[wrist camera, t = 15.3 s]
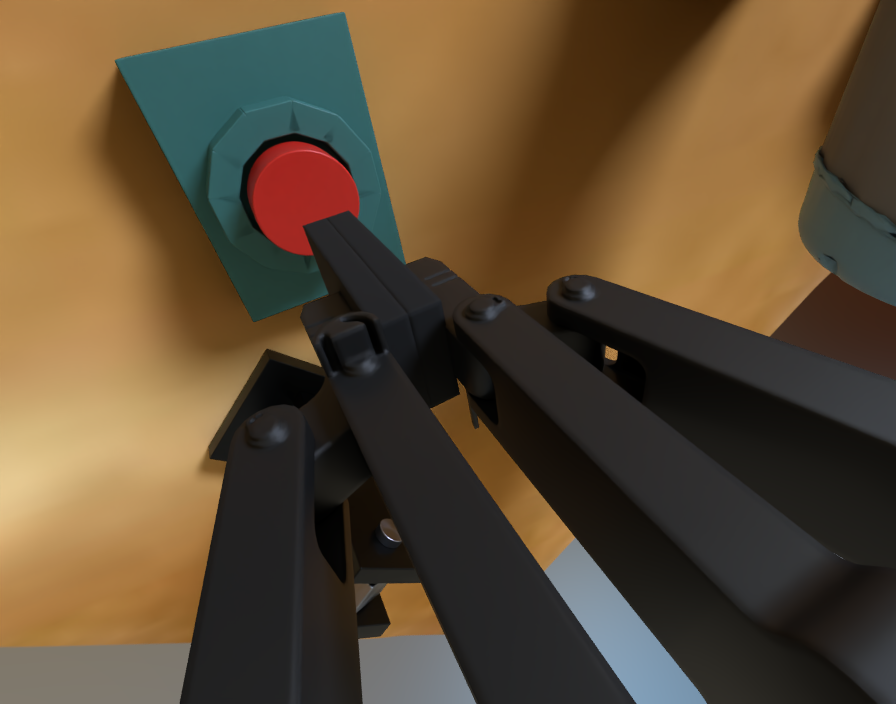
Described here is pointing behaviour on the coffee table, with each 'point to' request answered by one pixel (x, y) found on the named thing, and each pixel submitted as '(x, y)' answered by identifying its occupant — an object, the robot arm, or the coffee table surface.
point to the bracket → (370, 520)
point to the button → (298, 192)
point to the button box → (261, 139)
